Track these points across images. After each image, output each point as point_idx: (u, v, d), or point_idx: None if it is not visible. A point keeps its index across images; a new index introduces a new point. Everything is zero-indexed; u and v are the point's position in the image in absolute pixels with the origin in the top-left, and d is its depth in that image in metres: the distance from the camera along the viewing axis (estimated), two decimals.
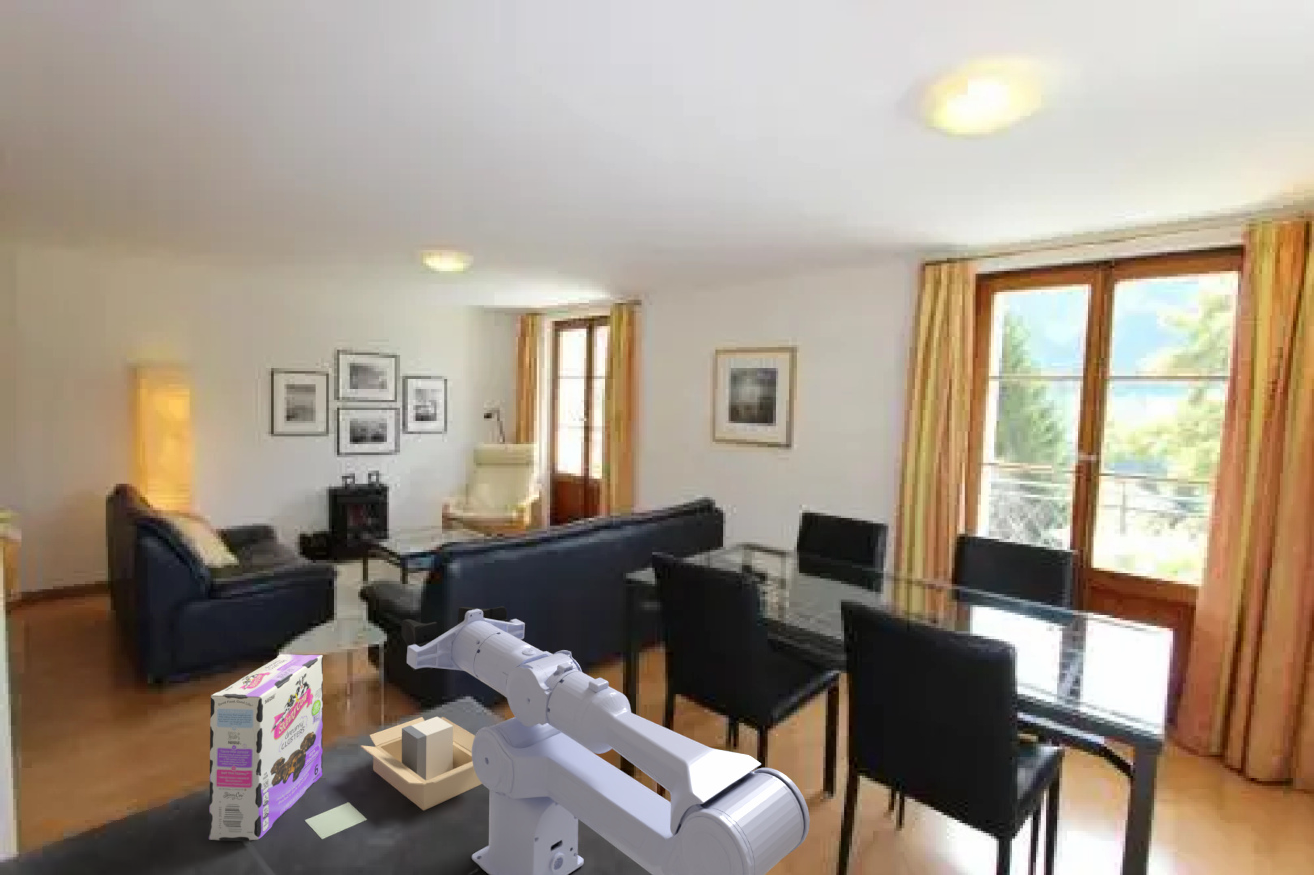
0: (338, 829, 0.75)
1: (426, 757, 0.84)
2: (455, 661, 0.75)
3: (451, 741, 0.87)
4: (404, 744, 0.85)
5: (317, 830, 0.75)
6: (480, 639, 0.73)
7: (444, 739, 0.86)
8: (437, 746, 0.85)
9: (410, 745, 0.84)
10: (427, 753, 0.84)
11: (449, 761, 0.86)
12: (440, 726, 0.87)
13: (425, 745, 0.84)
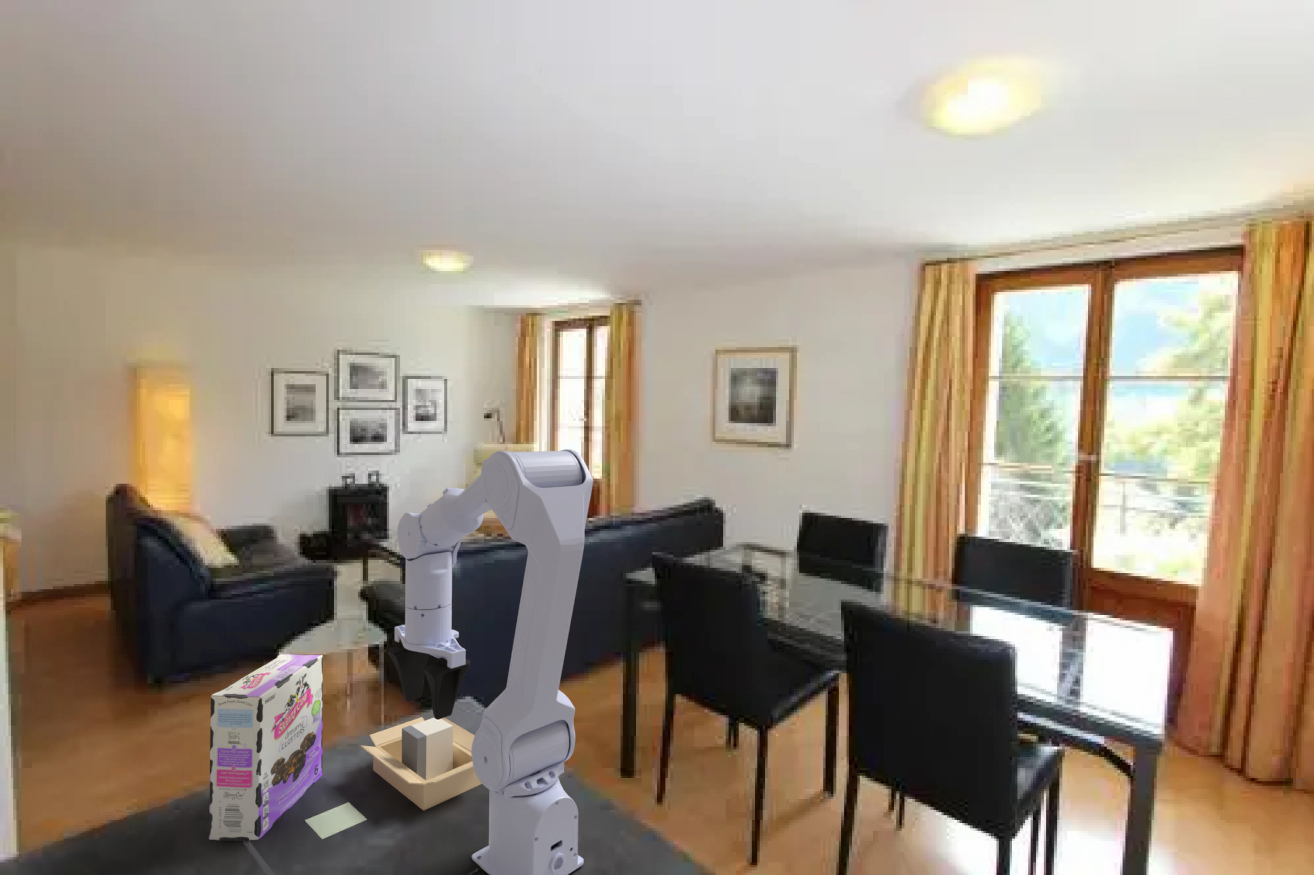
0: (338, 829, 0.75)
1: (426, 757, 0.84)
2: None
3: (451, 741, 0.87)
4: (404, 744, 0.85)
5: (317, 830, 0.75)
6: None
7: (444, 739, 0.86)
8: (437, 746, 0.85)
9: (410, 745, 0.84)
10: (427, 753, 0.84)
11: (449, 761, 0.86)
12: (440, 726, 0.87)
13: (425, 745, 0.84)
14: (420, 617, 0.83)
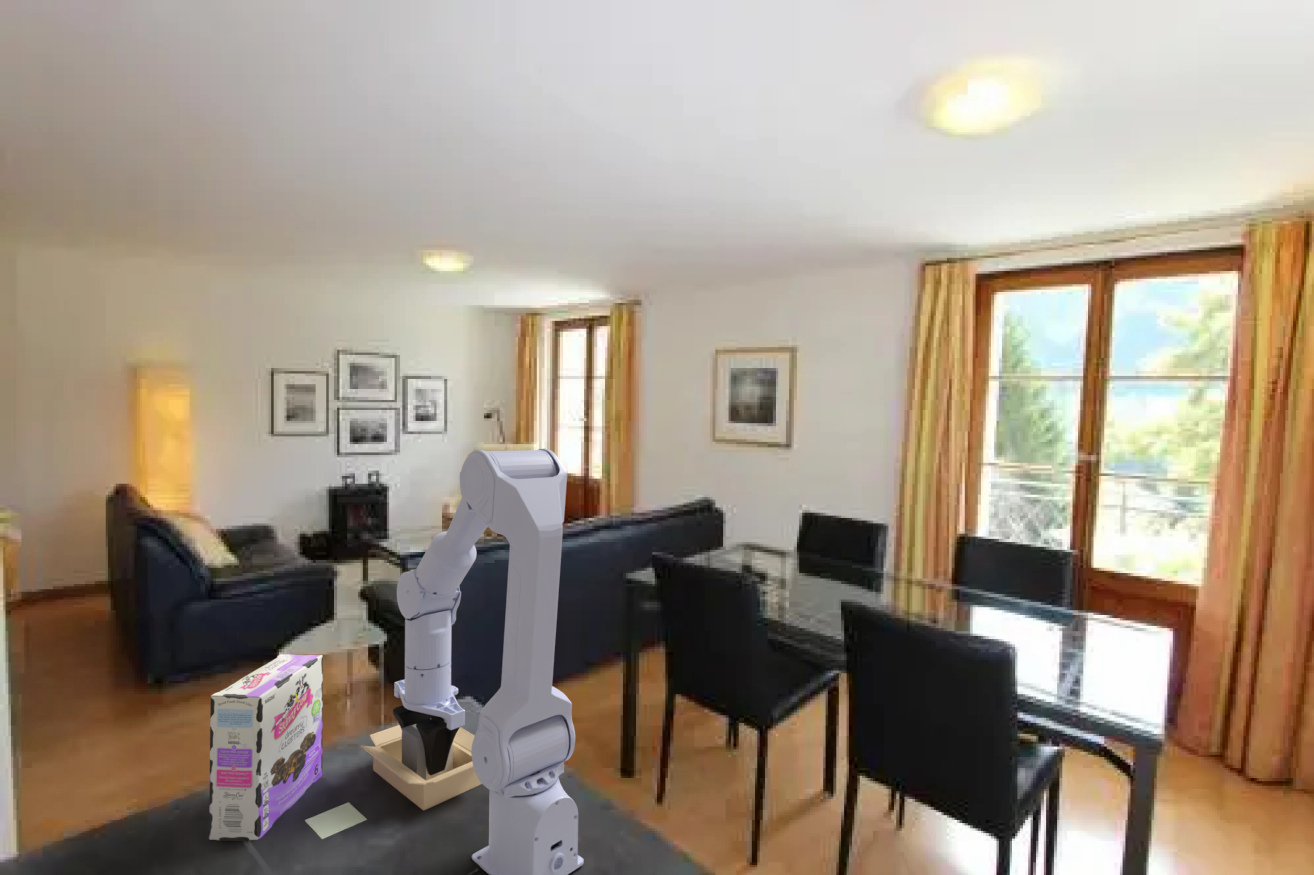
0: (338, 829, 0.75)
1: None
2: None
3: None
4: (404, 744, 0.85)
5: (317, 830, 0.75)
6: None
7: None
8: None
9: (410, 745, 0.84)
10: None
11: (449, 761, 0.86)
12: None
13: None
14: (420, 677, 0.83)
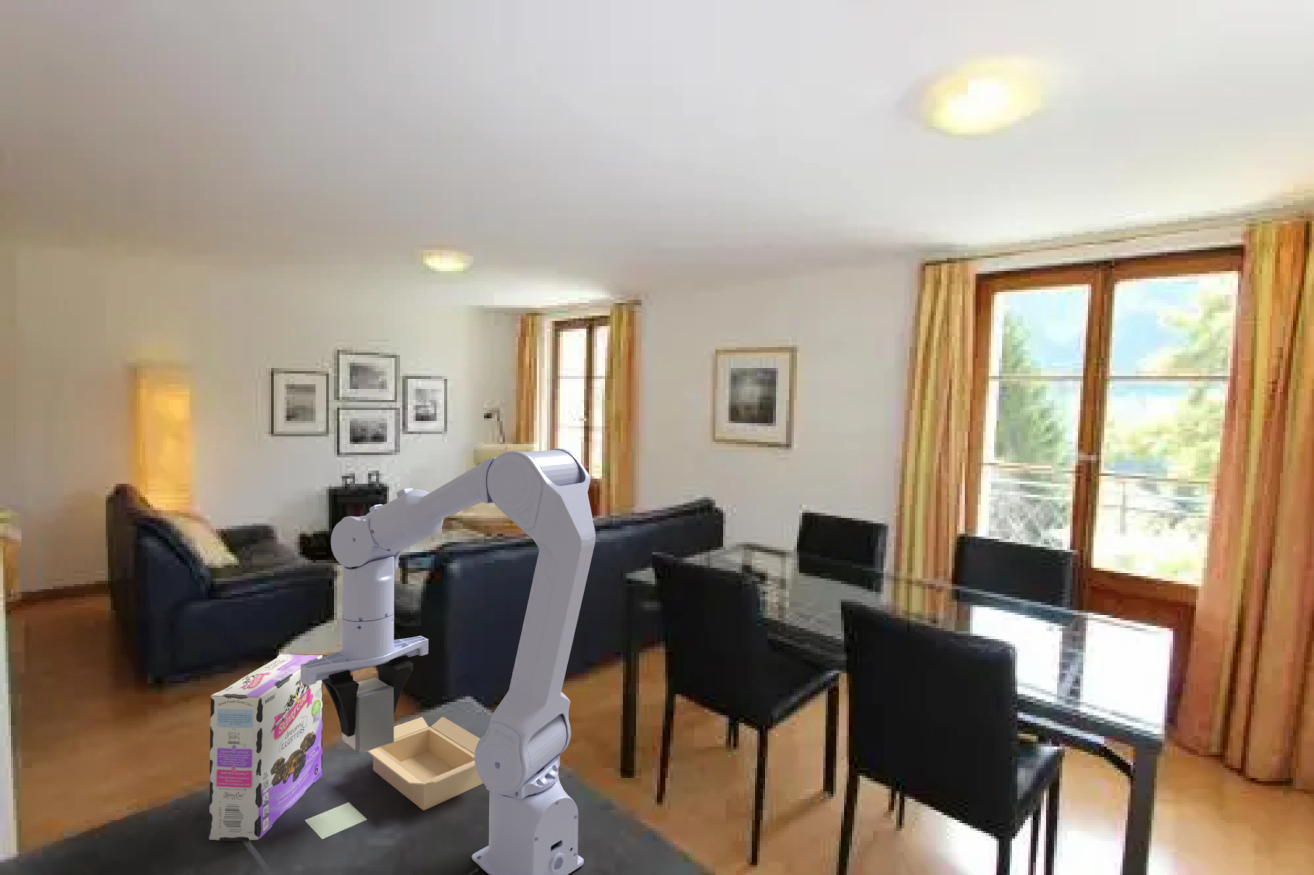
0: (338, 829, 0.75)
1: None
2: (350, 655, 0.77)
3: None
4: (365, 711, 0.77)
5: (317, 830, 0.75)
6: None
7: None
8: None
9: (378, 703, 0.78)
10: None
11: None
12: (369, 682, 0.81)
13: None
14: (391, 623, 0.79)
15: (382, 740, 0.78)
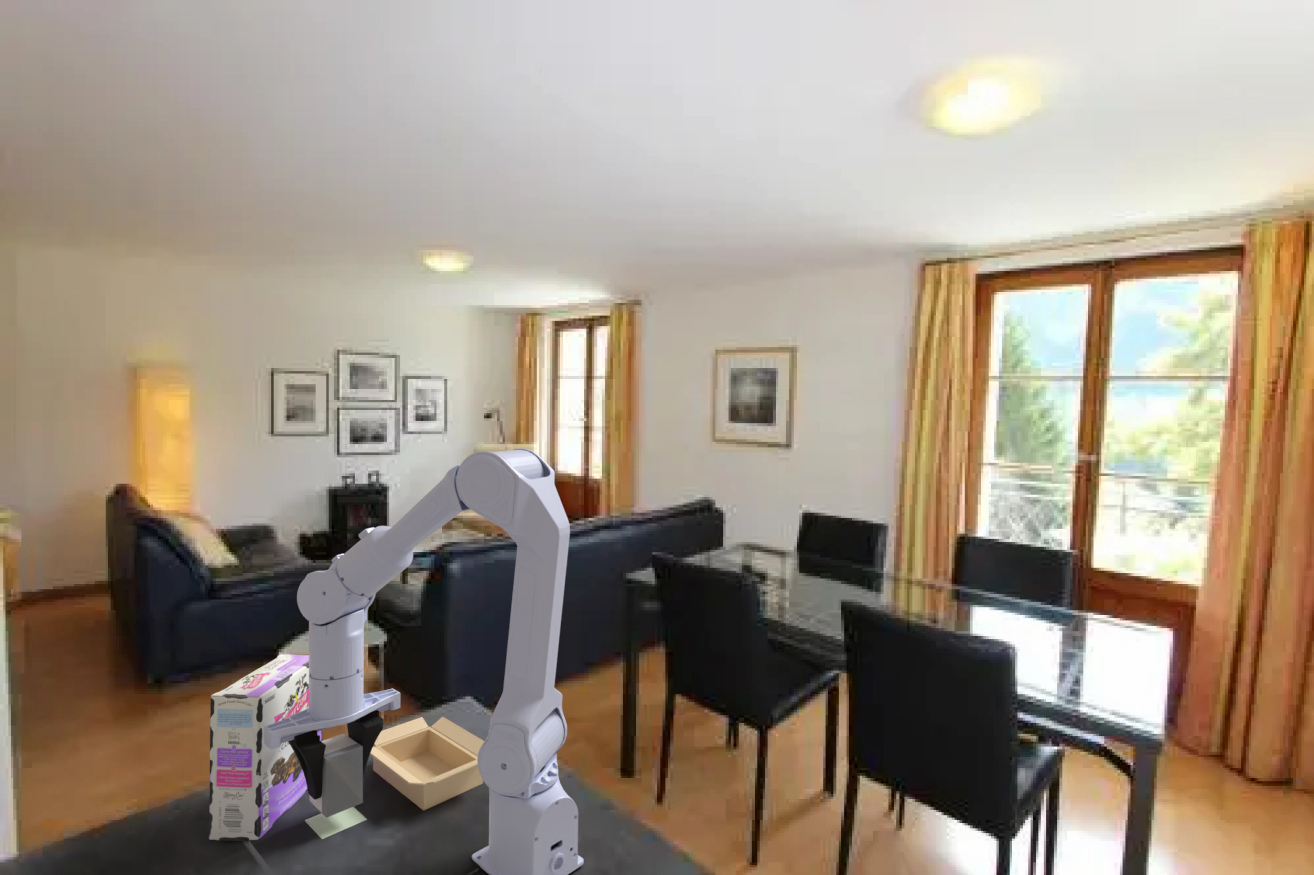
0: (338, 829, 0.75)
1: None
2: (317, 715, 0.74)
3: None
4: (333, 773, 0.74)
5: (317, 830, 0.75)
6: None
7: None
8: None
9: (346, 764, 0.75)
10: None
11: None
12: (338, 740, 0.78)
13: None
14: (360, 679, 0.76)
15: (350, 801, 0.75)
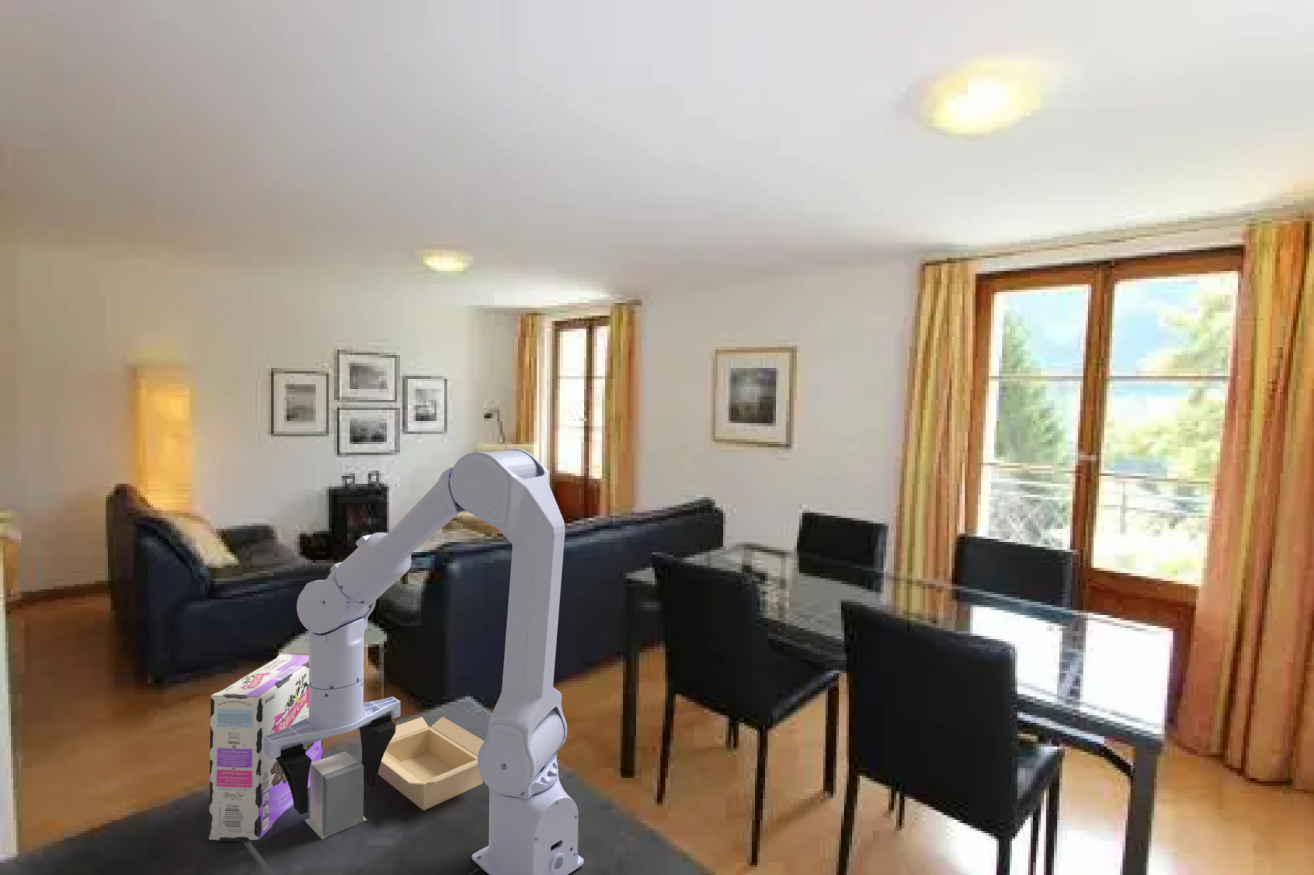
0: None
1: None
2: (317, 724, 0.74)
3: None
4: (333, 793, 0.74)
5: (317, 830, 0.75)
6: None
7: None
8: None
9: (347, 783, 0.75)
10: None
11: None
12: (339, 758, 0.78)
13: None
14: (360, 688, 0.76)
15: (351, 820, 0.75)
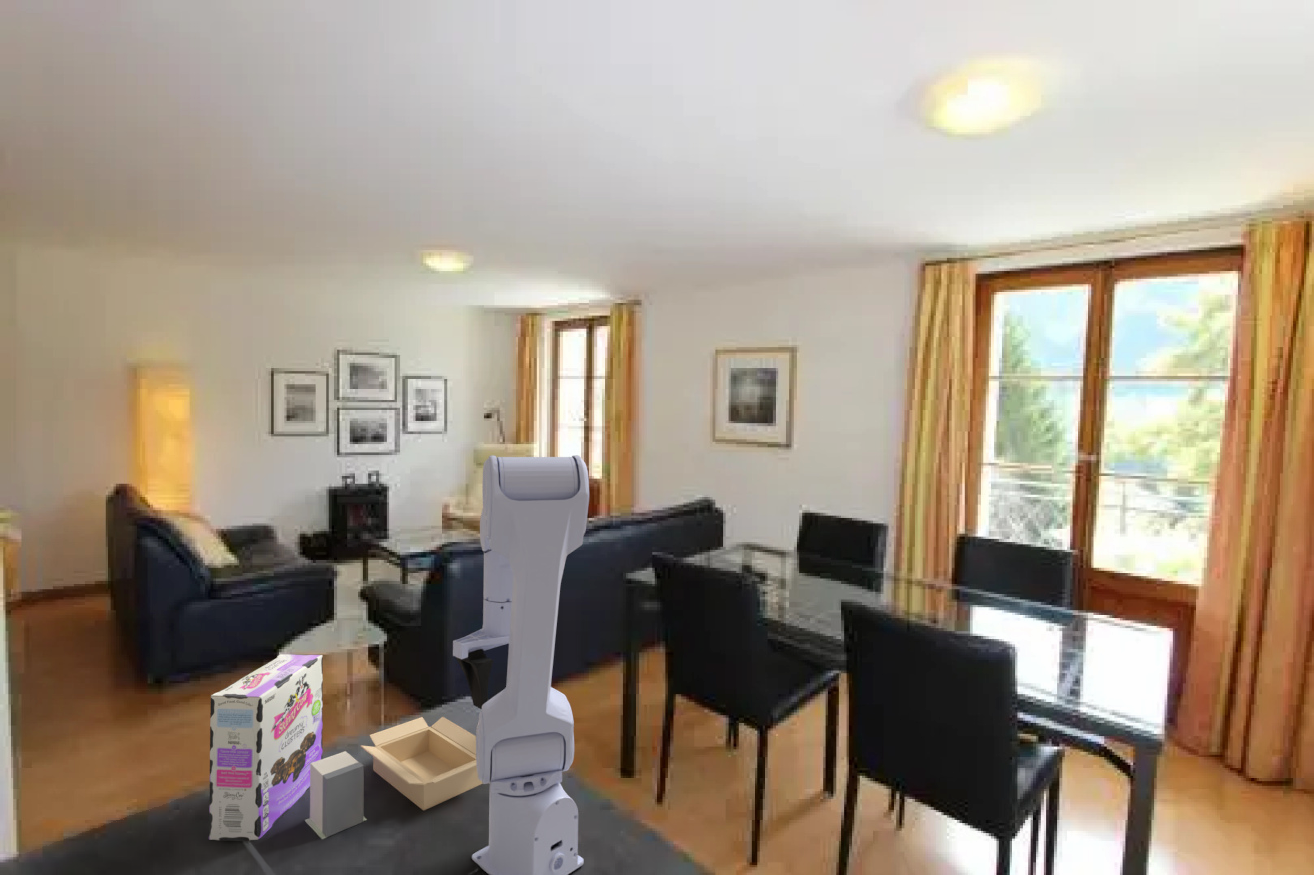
0: None
1: None
2: (494, 633, 0.86)
3: None
4: (333, 793, 0.74)
5: (317, 830, 0.75)
6: None
7: None
8: None
9: (347, 783, 0.75)
10: None
11: None
12: (339, 758, 0.78)
13: None
14: None
15: (351, 820, 0.75)
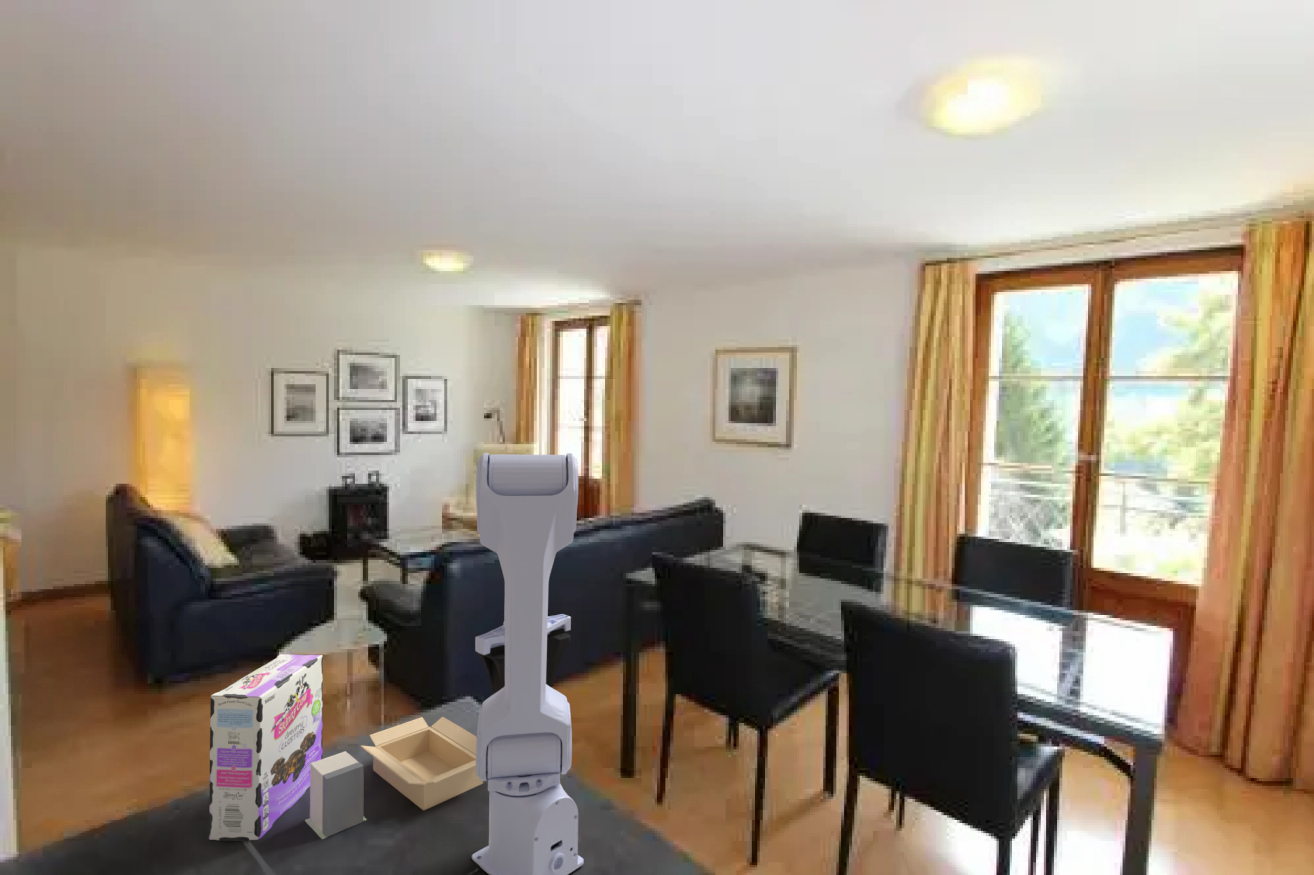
0: None
1: None
2: None
3: None
4: (333, 793, 0.74)
5: (317, 830, 0.75)
6: None
7: None
8: None
9: (347, 783, 0.75)
10: None
11: None
12: (339, 758, 0.78)
13: None
14: None
15: (351, 820, 0.75)
